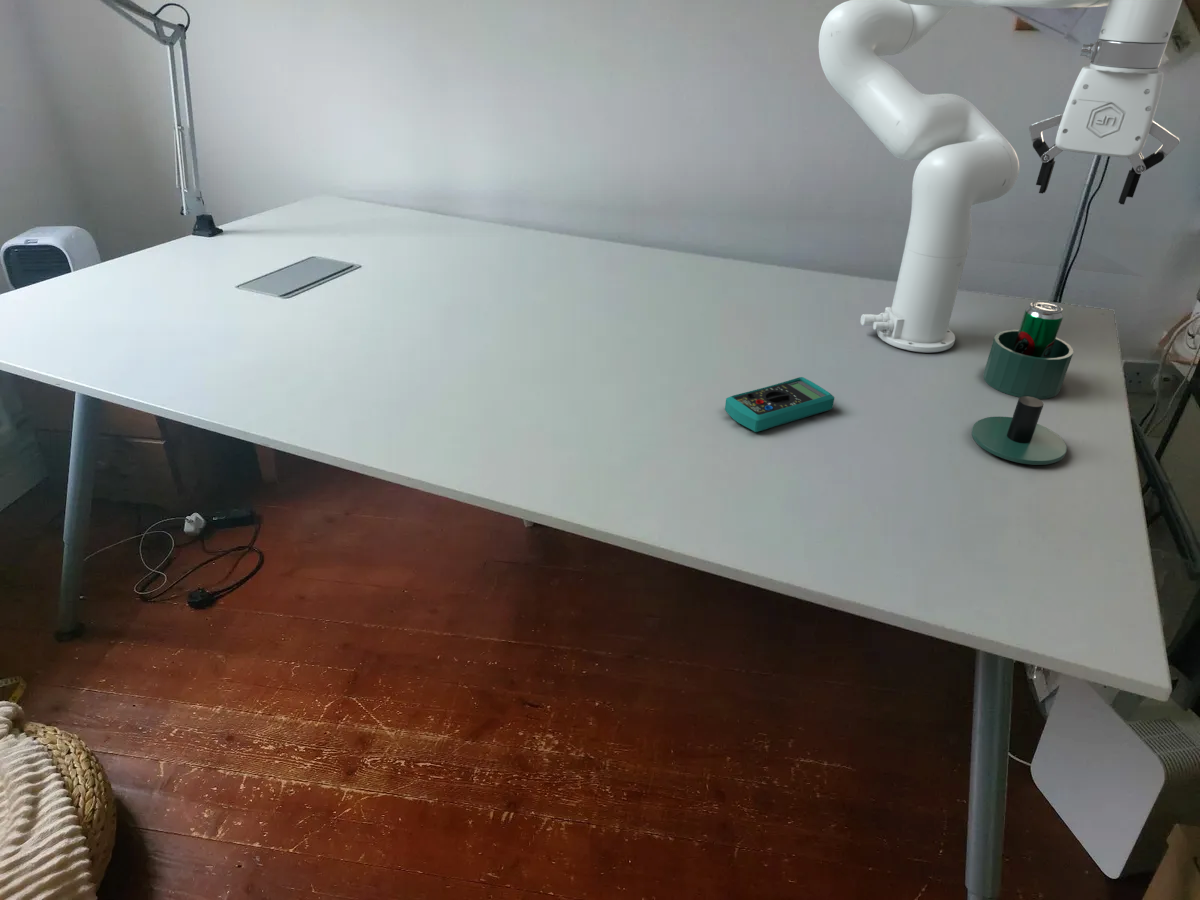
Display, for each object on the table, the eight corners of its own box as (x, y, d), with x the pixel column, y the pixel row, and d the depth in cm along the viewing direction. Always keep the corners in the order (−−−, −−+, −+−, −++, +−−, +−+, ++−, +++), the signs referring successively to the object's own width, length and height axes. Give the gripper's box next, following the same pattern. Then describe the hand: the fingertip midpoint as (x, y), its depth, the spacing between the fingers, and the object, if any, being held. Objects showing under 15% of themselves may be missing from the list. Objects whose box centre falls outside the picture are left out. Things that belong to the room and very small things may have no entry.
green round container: (1023, 404, 118) (1036, 364, 115) (967, 373, 126) (978, 335, 123) (1075, 391, 122) (1090, 352, 118) (1018, 362, 130) (1030, 325, 127)
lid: (1018, 476, 102) (1034, 430, 98) (951, 433, 111) (963, 389, 107) (1084, 458, 106) (1101, 413, 102) (1013, 417, 115) (1027, 375, 111)
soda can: (1037, 390, 121) (1063, 315, 114) (1001, 382, 123) (1024, 308, 117) (1042, 378, 124) (1067, 304, 118) (1007, 370, 127) (1030, 297, 120)
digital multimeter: (719, 413, 115) (721, 394, 113) (800, 390, 121) (803, 372, 119) (752, 436, 109) (754, 417, 108) (834, 411, 115) (838, 393, 114)
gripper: (1047, 54, 101) (1008, 193, 110) (1209, 65, 94) (1154, 213, 103) (1053, 49, 107) (1016, 182, 116) (1208, 59, 99) (1155, 200, 108)
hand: (1081, 196), depth 109 cm, fingers open, 9 cm apart
